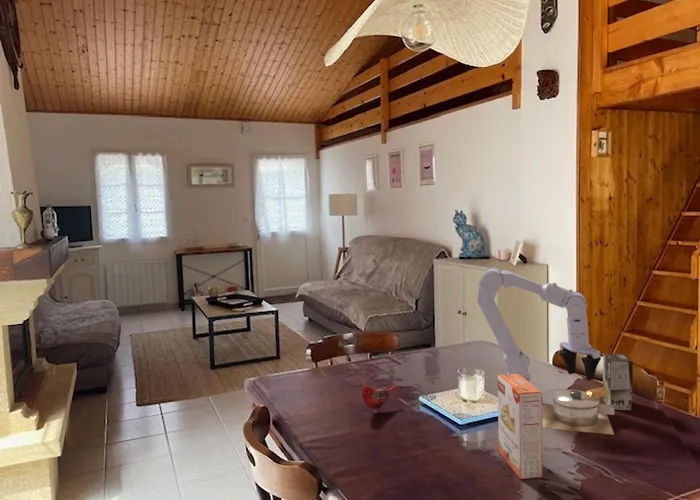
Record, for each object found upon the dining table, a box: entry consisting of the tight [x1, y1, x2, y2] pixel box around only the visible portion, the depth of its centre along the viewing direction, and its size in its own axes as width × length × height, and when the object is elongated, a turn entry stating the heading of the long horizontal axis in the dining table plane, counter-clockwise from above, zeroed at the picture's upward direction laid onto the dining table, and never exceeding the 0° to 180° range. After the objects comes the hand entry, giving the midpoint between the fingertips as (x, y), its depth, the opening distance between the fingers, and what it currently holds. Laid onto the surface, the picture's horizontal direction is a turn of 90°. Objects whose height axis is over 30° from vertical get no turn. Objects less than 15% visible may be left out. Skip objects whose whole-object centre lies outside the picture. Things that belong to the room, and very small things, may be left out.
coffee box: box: [602, 353, 634, 411], centre depth 167 cm, size 9×6×16 cm
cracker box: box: [497, 373, 544, 480], centre depth 132 cm, size 14×6×21 cm, turn 5°
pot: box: [552, 400, 615, 427], centre depth 157 cm, size 16×12×5 cm
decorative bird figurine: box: [360, 384, 398, 416], centre depth 169 cm, size 3×18×10 cm, turn 137°
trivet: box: [542, 404, 615, 436], centre depth 157 cm, size 18×18×1 cm
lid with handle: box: [551, 386, 607, 409], centre depth 158 cm, size 17×13×2 cm
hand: (580, 376), depth 165 cm, fingers open, 7 cm apart
